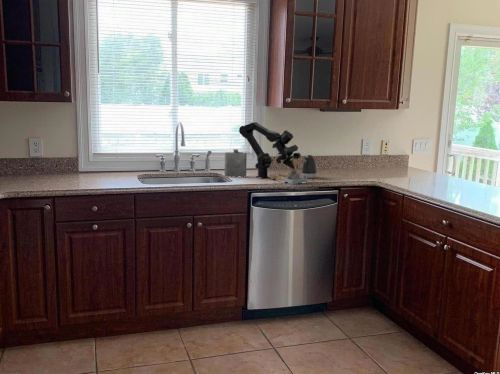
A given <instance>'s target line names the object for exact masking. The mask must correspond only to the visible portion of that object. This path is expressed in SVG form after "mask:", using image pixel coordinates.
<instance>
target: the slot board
mask: <svg viewBox="0 0 500 374" xmlns="http://www.w3.org/2000/svg"><path fill="white" fill-rule="evenodd" d="M284 177H288V174H285V173H278V174H270V176H269V179H270V178H272V179H276V180H275V181H277V180H281V178H284ZM272 179H271V180H272Z"/></svg>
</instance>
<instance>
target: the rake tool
mask: <svg viewBox="0 0 500 374" xmlns="http://www.w3.org/2000/svg"><path fill="white" fill-rule="evenodd" d="M292 164H293V165H294V167H295V169H292V168H291V172H288V174H287V175H288V179H291V180H298V179H299V177H300V172H298V171H297V169H298V168H297V165H298V159H295V158H293V159H292ZM300 178H301V177H300Z"/></svg>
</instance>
